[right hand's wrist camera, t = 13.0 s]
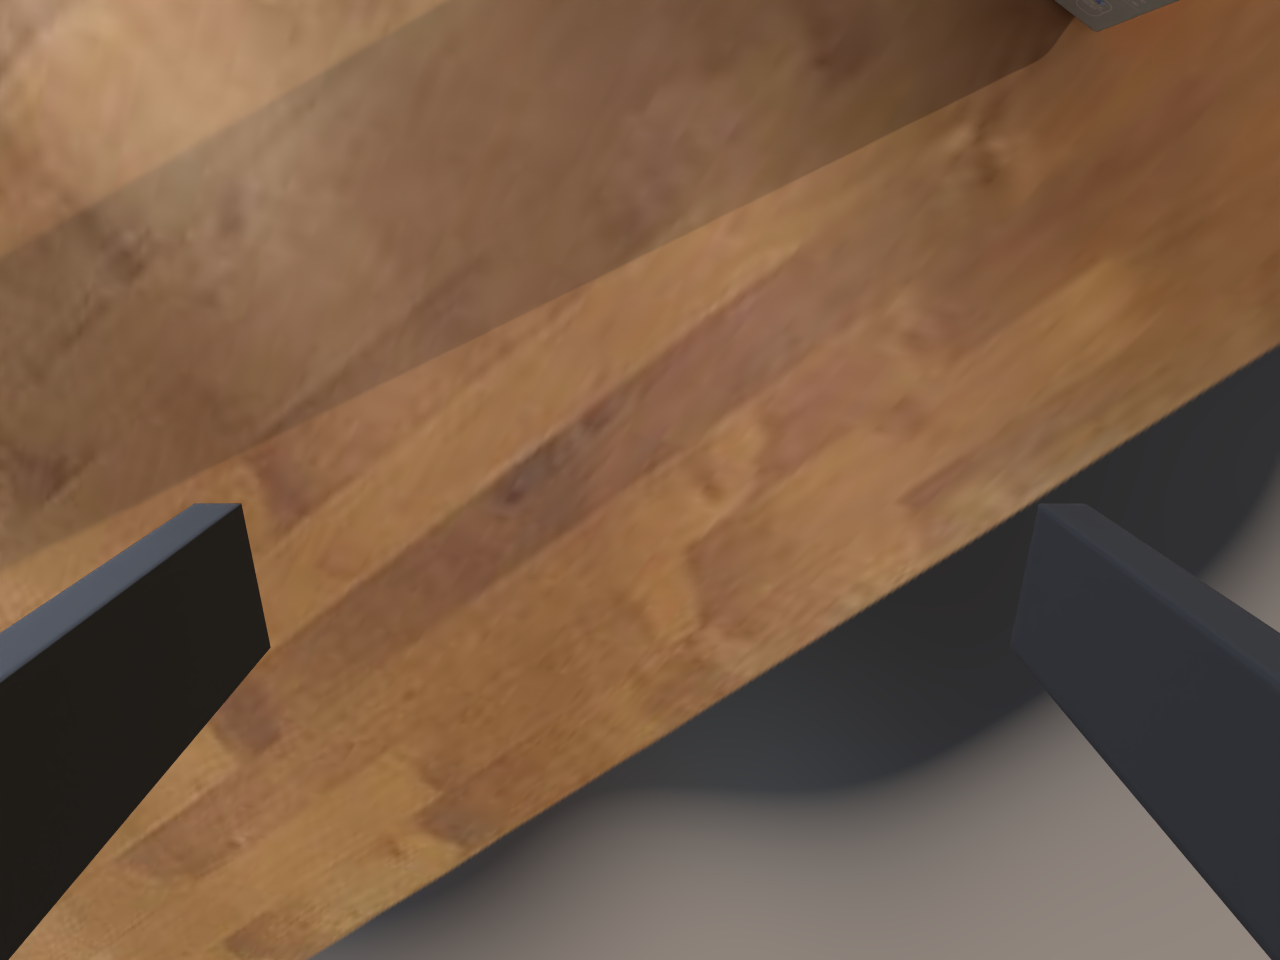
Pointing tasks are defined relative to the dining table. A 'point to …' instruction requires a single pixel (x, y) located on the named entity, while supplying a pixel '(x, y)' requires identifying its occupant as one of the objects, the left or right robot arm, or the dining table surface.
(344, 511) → the dining table surface
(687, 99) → the dining table surface
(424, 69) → the dining table surface
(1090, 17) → the hard drive box
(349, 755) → the dining table surface
